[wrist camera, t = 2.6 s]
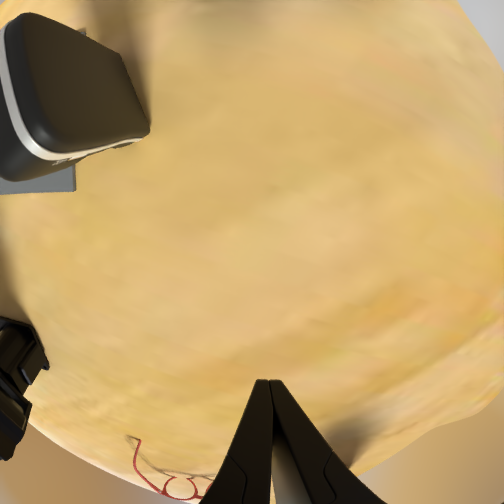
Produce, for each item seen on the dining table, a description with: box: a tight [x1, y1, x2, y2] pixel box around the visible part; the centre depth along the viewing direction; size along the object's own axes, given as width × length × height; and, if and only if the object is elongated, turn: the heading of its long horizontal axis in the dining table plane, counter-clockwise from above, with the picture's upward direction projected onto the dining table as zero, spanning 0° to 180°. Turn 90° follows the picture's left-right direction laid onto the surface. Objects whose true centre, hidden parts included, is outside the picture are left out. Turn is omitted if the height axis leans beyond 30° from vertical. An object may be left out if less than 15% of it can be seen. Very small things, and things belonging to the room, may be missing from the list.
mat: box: [0, 32, 86, 195], centre depth 15 cm, size 16×12×1 cm
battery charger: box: [0, 12, 150, 182], centre depth 10 cm, size 7×4×11 cm, turn 21°
